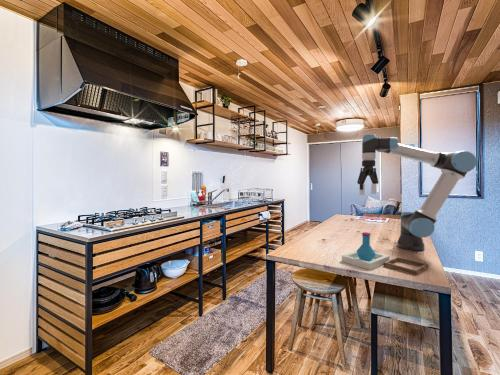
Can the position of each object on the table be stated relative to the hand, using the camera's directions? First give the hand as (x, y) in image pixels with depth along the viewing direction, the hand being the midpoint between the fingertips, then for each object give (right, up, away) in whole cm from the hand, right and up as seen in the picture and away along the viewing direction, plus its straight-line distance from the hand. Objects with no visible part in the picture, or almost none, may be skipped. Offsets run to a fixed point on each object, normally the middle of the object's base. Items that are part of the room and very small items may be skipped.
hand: (367, 194), depth 162 cm
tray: (-10, -36, -20) cm, 42 cm away
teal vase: (-10, -35, -20) cm, 42 cm away
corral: (+6, -36, -28) cm, 46 cm away
